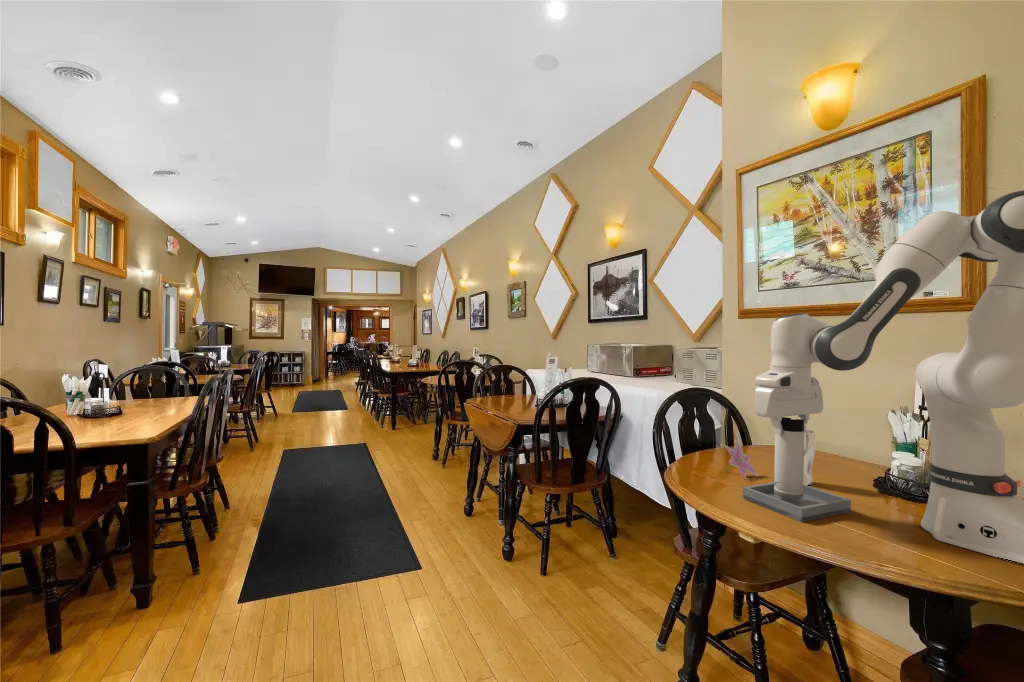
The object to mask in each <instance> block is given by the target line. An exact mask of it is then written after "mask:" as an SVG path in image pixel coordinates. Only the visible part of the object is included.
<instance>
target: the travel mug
mask: <svg viewBox="0 0 1024 682" xmlns="http://www.w3.org/2000/svg"><path fill="white" fill-rule="evenodd" d="M780 423H781V426H782V427H784V434H781V435H778V434H775V433H774V472H773V475H774V479H773V480H774V481H773V482H774V486H775V487H774V493H775V494H776V495H778V496H780V497H783V498H788V499H801V498H803V474H804V428H803V427H804V420H801V419H799V418H796V419H793V418H791V417H787V416H783V417H782V421H780Z"/></svg>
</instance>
